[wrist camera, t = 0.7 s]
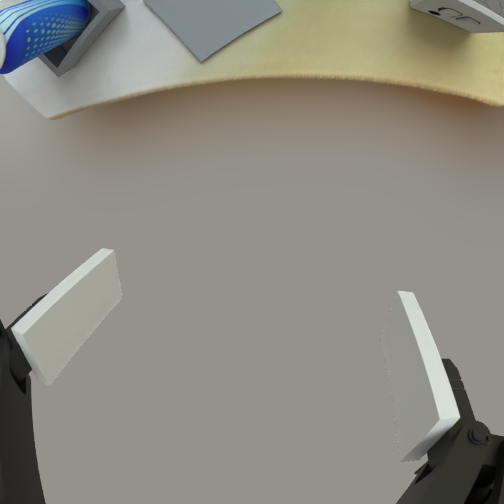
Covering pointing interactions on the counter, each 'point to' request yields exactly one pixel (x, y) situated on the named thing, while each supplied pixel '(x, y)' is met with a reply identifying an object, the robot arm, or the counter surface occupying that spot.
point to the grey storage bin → (82, 38)
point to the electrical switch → (466, 13)
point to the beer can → (38, 29)
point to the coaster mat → (211, 20)
